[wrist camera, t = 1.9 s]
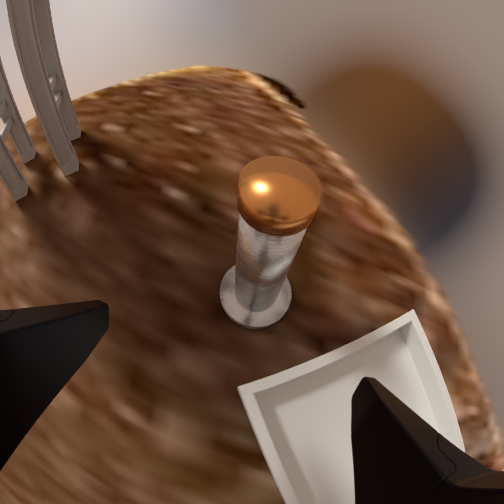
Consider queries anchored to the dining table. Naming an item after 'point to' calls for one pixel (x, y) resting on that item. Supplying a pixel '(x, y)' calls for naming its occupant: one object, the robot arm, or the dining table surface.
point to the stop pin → (268, 238)
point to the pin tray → (341, 408)
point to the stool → (36, 95)
